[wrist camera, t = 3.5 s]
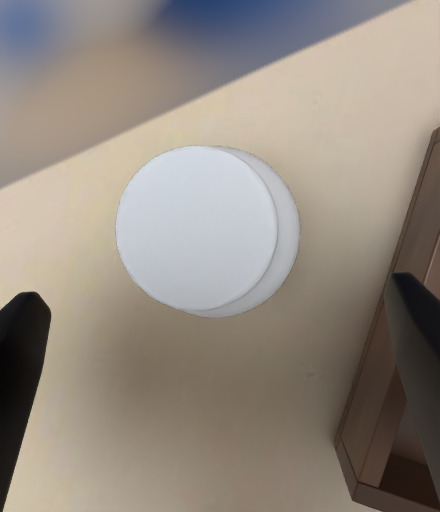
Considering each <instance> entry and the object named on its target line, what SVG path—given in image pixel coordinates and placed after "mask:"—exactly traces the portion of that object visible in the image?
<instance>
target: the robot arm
mask: <svg viewBox="0 0 440 512" xmlns="http://www.w3.org/2000/svg"><path fill="white" fill-rule="evenodd" d="M384 303H385V309H386V314H387V320H388V325H389V331H390V336H391V341H392V347H393V352H394V357H395V361H396V365H397V368H398V371H399V375H400V378H401V381H402V384H403V387H404V391H405V394H406V397H407V400H408V403H409V406H410V410H411V413H412V416H413V419H414V422H415V426H416V429H417V432H418V435H419V438H420V441H421V445H422V448H423V451H424V454H425V457H426V461H427V464H428V467H429V470H430V473H431V476H432V480H433V483H434V486H435V489H436V492H437V496H438V499H439V502H440V300H439V299H438V298H437V297H436V296H435V295H434V294H432V293H431V292H430V291H429V290H428V289H427V288H426V287H425V286H424V285H423V284H422V283H421V282H420V281H419V280H418V279H417V278H416V277H415V276H414V275H413V274H412V273H410V272H408V271H400V272H392V273H390V275H389V278H388V281H387V285H386V288H385V292H384ZM50 322H51V311H50V308H49V307H48V306H47V304H46V303H45V302H44V300H43V299H42V298H41V297H40V295H39V294H38V293H37V292H21V293H19V294H18V295H16V296H15V297H14V298H13V299H12V300H11V301H10V302H9V303H8V304H7V305H5V306H4V307H3V308H2V309H1V310H0V512H3V508H4V505H5V501H6V498H7V494H8V491H9V487H10V484H11V480H12V476H13V473H14V469H15V466H16V462H17V459H18V455H19V452H20V448H21V444H22V441H23V437H24V434H25V430H26V427H27V423H28V419H29V416H30V412H31V409H32V405H33V402H34V398H35V395H36V391H37V387H38V384H39V380H40V377H41V373H42V369H43V364H44V358H45V352H46V346H47V340H48V334H49V328H50Z"/></svg>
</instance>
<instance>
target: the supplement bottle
mask: <svg viewBox="0 0 440 512" xmlns="http://www.w3.org/2000/svg"><path fill="white" fill-rule="evenodd" d="M115 235H116V243H117V247H118V251H119V255H120V258H121V260H122V263H123V265H124V267H125V269H126V270H127V272H128V274H129V275H130V277H131V278H132V279H133V281H134V282H135V283H136V284H137V285H138V286H139V287H140V288H141V289H142V290H143V291H144V292H145V293H147V294H148V295H149V296H150V297H152V298H153V299H155V300H157V301H158V302H160V303H162V304H165V305H167V306H170V307H173V308H176V309H178V310H180V311H183V312H185V313H189V314H192V315H196V316H200V317H207V318H222V317H230V316H234V315H238V314H241V313H244V312H247V311H249V310H251V309H253V308H255V307H257V306H259V305H260V304H262V303H264V302H265V301H266V300H267V299H269V298H270V297H271V296H272V295H273V294H274V293H275V292H276V291H277V290H278V289H279V288H280V286H281V285H282V284H283V283H284V281H285V280H286V278H287V277H288V275H289V273H290V271H291V269H292V267H293V265H294V262H295V260H296V256H297V253H298V248H299V243H300V220H299V214H298V209H297V206H296V203H295V200H294V198H293V196H292V194H291V192H290V190H289V188H288V186H287V185H286V183H285V182H284V180H283V179H282V178H281V177H280V175H279V174H278V173H277V172H276V171H275V170H274V169H273V168H272V167H271V166H269V165H268V164H267V163H265V162H264V161H263V160H261V159H259V158H258V157H256V156H254V155H252V154H250V153H247V152H245V151H242V150H239V149H235V148H230V147H224V146H197V145H196V146H186V147H179V148H175V149H172V150H169V151H167V152H164V153H162V154H160V155H158V156H156V157H155V158H153V159H152V160H150V161H149V162H148V163H146V164H145V165H144V166H143V167H142V168H141V169H140V170H139V171H138V172H137V173H136V174H135V175H134V177H133V178H132V179H131V181H130V182H129V184H128V185H127V187H126V189H125V191H124V193H123V195H122V197H121V200H120V203H119V206H118V210H117V214H116V222H115Z"/></svg>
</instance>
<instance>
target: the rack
mask: <svg viewBox="0 0 440 512" xmlns="http://www.w3.org/2000/svg"><path fill="white" fill-rule="evenodd" d="M400 271H408V272H410V273H412V274H413V275H414V276H415V277H416V278H417V279H418V280H419V281H420V282H421V283H422V284H423V285H424V286H425V287H426V288H427V289H428V290H429V291H430V292H431V293H432V294H434V295H435V296H436V297H437V298H438V299H439V300H440V127H439V128H437V129H436V130H434V132H433V135H432V138H431V141H430V144H429V148H428V151H427V154H426V157H425V160H424V163H423V166H422V169H421V173H420V176H419V179H418V182H417V185H416V188H415V191H414V195H413V198H412V201H411V204H410V207H409V210H408V213H407V216H406V220H405V223H404V226H403V229H402V232H401V235H400V238H399V242H398V245H397V248H396V251H395V254H394V257H393V260H392V263H391V267H390V270H389V273H388V276H387V279H386V282H385V285H384V289H383V292H382V295H381V298H380V301H379V304H378V307H377V310H376V314H375V317H374V320H373V323H372V326H371V329H370V332H369V336H368V339H367V342H366V345H365V348H364V351H363V354H362V357H361V361H360V364H359V367H358V370H357V373H356V376H355V379H354V383H353V386H352V389H351V392H350V395H349V398H348V401H347V405H346V408H345V411H344V414H343V417H342V420H341V423H340V426H339V430H338V433H337V436H336V439H335V442H334V448H335V451H336V454H337V457H338V460H339V463H340V466H341V469H342V472H343V475H344V478H345V481H346V484H347V487H348V490H349V493H350V496H351V499H352V501H354V502H357V503H359V504H362V505H365V506H368V507H371V508H373V509H376V510H379V511H382V512H440V502H439V499H438V496H437V492H436V489H435V486H434V483H433V480H432V476H431V473H430V470H429V467H428V464H427V461H426V457H425V454H424V451H423V448H422V445H421V441H420V438H419V435H418V432H417V429H416V426H415V422H414V419H413V416H412V413H411V410H410V406H409V403H408V400H407V397H406V394H405V391H404V387H403V384H402V381H401V378H400V375H399V371H398V368H397V365H396V361H395V357H394V352H393V347H392V341H391V336H390V331H389V325H388V320H387V314H386V309H385V303H384V292H385V288H386V285H387V281H388V278H389V275H390V273H392V272H400Z"/></svg>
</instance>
